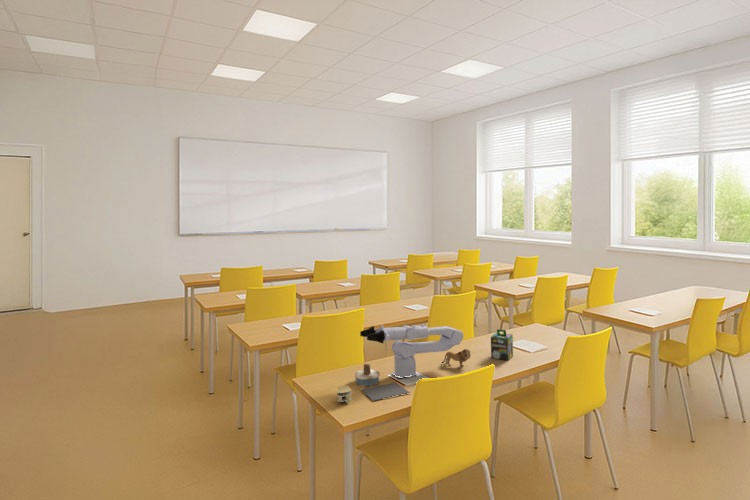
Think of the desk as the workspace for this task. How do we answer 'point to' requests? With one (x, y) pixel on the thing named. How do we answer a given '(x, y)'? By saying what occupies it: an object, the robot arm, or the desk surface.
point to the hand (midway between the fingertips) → (363, 335)
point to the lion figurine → (458, 357)
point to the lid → (367, 373)
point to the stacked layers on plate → (344, 394)
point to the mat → (384, 391)
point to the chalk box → (502, 345)
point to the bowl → (367, 382)
